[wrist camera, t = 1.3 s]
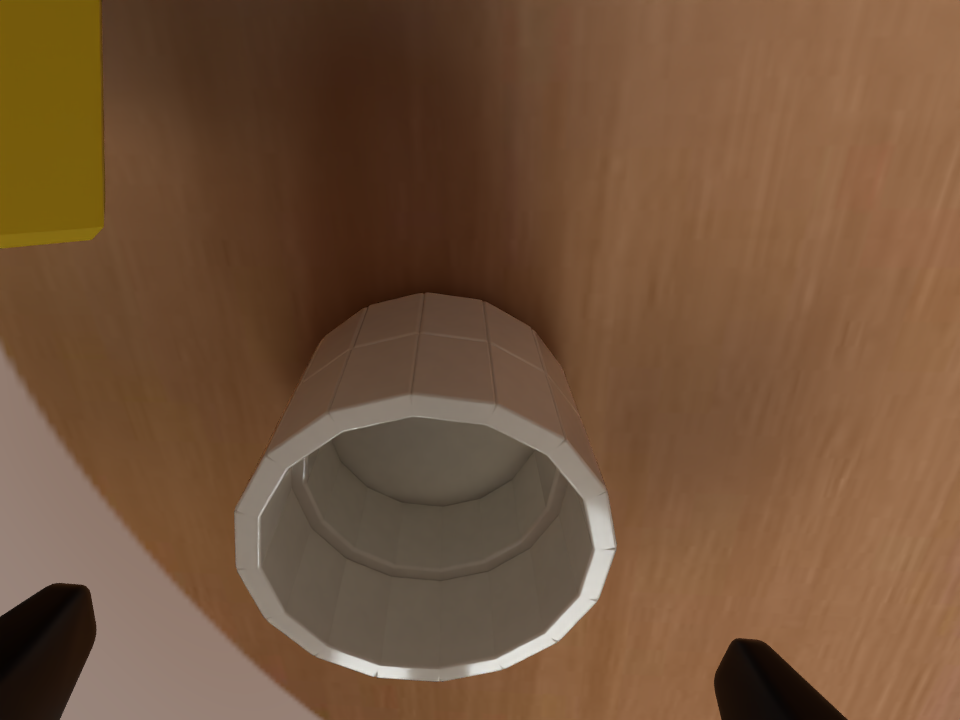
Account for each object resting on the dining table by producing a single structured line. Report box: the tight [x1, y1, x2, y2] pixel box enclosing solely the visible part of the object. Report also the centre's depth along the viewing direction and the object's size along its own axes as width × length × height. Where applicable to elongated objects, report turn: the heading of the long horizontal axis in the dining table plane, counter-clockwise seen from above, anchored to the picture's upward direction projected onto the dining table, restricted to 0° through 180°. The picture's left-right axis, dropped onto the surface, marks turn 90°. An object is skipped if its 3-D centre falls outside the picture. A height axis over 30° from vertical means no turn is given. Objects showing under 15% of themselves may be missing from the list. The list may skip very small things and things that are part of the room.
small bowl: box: [234, 293, 617, 682], centre depth 11 cm, size 6×6×5 cm
